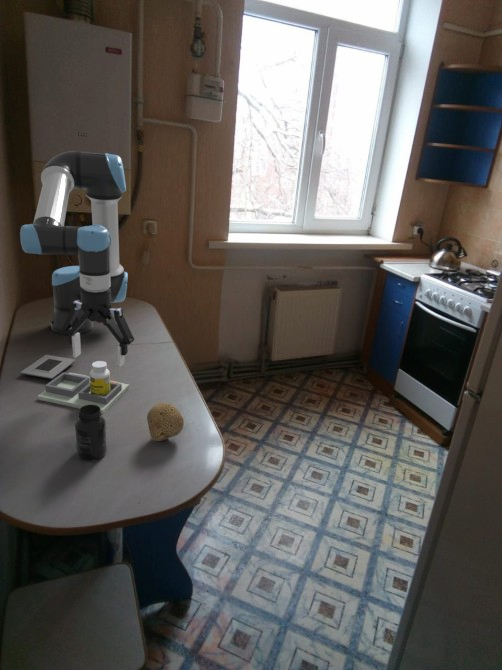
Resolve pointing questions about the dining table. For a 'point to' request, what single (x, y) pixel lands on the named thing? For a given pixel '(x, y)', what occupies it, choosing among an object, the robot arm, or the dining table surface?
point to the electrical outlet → (48, 366)
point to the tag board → (80, 392)
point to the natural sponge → (164, 421)
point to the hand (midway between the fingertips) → (99, 360)
